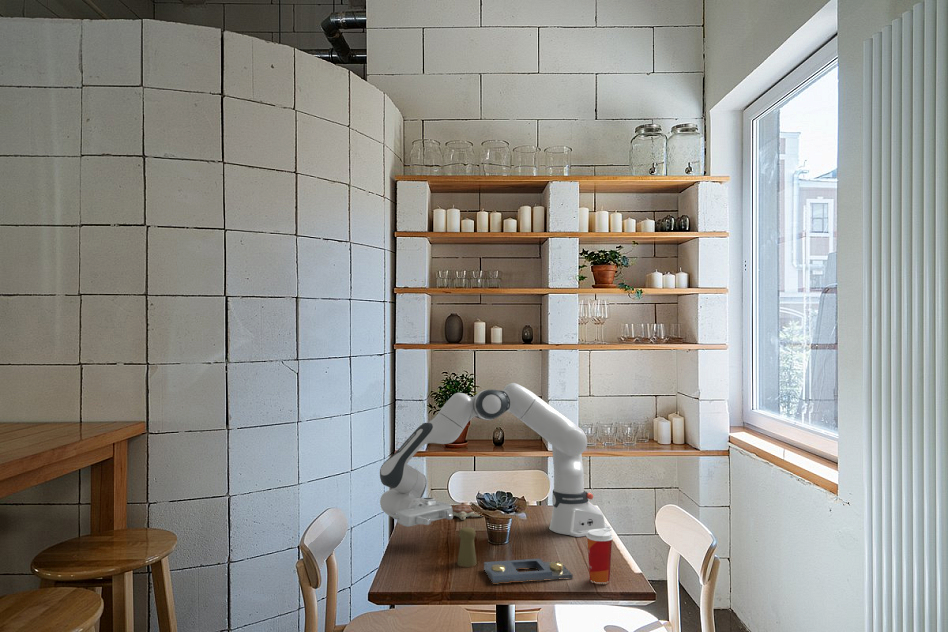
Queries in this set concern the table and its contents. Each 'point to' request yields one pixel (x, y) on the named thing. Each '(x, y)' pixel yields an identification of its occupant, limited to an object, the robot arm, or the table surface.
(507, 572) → the slotted plate with knobs
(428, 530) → the table surface
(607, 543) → the paper cup
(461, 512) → the decorative turtle
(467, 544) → the olive green pepper mill
